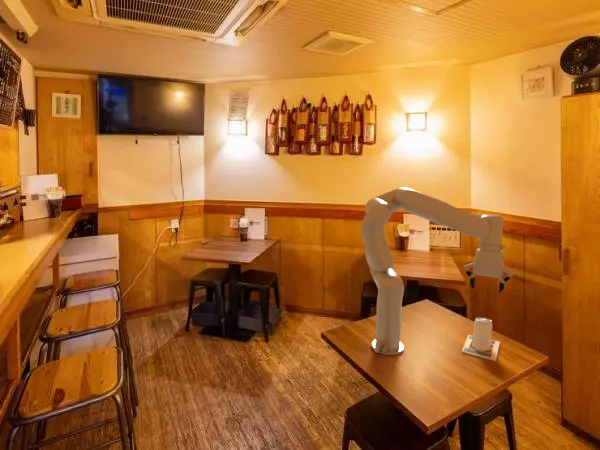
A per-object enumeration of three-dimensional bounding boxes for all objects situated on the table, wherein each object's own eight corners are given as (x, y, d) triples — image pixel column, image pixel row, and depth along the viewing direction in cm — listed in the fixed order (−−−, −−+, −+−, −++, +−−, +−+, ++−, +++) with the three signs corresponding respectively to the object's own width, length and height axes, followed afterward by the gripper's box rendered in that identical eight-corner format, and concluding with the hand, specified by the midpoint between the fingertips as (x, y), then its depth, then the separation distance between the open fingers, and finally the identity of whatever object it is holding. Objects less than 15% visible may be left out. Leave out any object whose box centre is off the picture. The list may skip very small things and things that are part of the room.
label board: (495, 361, 142) (496, 359, 142) (461, 352, 149) (461, 350, 148) (499, 343, 156) (500, 341, 155) (468, 335, 162) (468, 334, 162)
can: (486, 344, 155) (489, 316, 153) (492, 352, 149) (495, 323, 146) (470, 343, 156) (472, 316, 153) (475, 351, 149) (478, 323, 147)
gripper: (516, 247, 143) (512, 290, 146) (467, 242, 152) (464, 283, 155) (515, 252, 137) (510, 297, 140) (463, 246, 146) (460, 288, 149)
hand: (486, 289), depth 148 cm, fingers open, 9 cm apart
